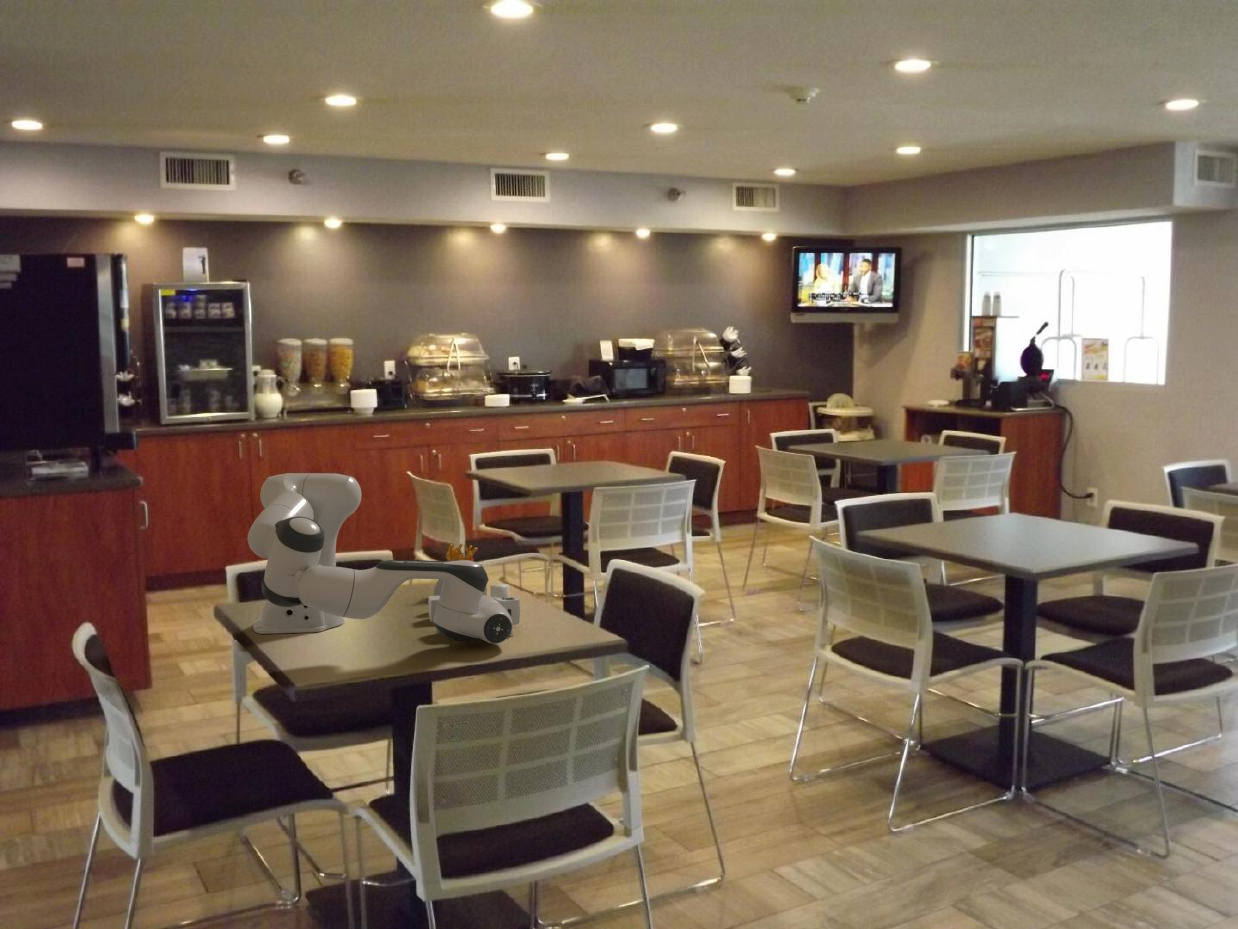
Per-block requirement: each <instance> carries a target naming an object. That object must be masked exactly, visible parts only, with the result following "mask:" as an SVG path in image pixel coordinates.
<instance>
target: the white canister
mask: <svg viewBox="0 0 1238 929" xmlns="http://www.w3.org/2000/svg"><path fill="white" fill-rule="evenodd" d="M489 586H490V587H489V588H490V589H489V590H490V596H491V597H499V598H509V597H511V596H510V595H511V594H510V593H511V592H510V584H508V583H494V584H493V583H492V584H491V585H489Z"/></svg>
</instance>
